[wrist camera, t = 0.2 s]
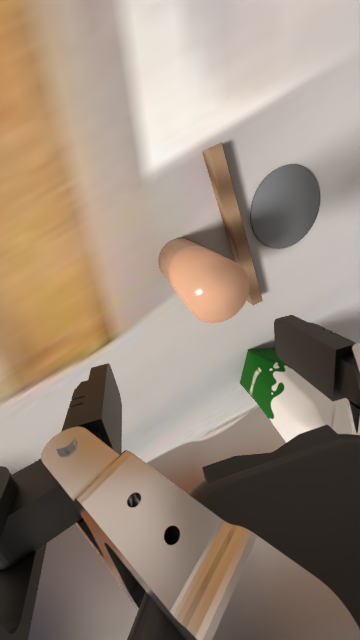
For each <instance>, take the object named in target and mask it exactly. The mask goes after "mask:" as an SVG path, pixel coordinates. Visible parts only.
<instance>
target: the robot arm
mask: <svg viewBox="0 0 360 640" xmlns="http://www.w3.org/2000/svg"><path fill="white" fill-rule="evenodd" d="M274 333H275V350H276V353H277V355H278V357H279V359H280V360H281V361H283V362H284V363H285V364H286V365H288V366H289V367H290V368H291V369H293V370H294V371H295V372H296V373H298V374H299V375H300V376H301V377H303V378H304V379H305V380H306V381H308V382H309V383H310V384H311V385H313V386H314V387H315V388H316V389H318V390H319V391H320V392H321V393H323V394H324V395H325V396H326V397H328V398H329V399H330V400H331V401H333V402H334V401H337V400H340V399H342V398H347V399H348V403H347V408H348V413H349V417H350V422H351V427H352V432H353V434H337V433H336V432H335V431H334V430H333V429H332V428H331V427H330V426H329V425H328V424H327V425H324V426H321V427H319V428H316V429H313V430H310V431H307V432H304V433H301V434H298V435H297V436H296V437H294V438H293V439H291V440H290V441H288V442H287V443H286V444H284V445H283V446H281V447H280V448H279V449H277V450H276V451H274V452H272V453H264V454H253V455H242V456H234V457H231V458H228V459H226V460H222V461H220V462H216V463H214V464H211V465H208V466H205V467H203V472H204V477H205V480H204V481H202V482H201V483H199V484H198V485H197V486H196V487H195V488H194V489H193V490H192V491H191V492H190V493H189V494H187V493H186V492H184V491H183V490H181V489H180V488H179V487H178V486H176V485H175V484H173V483H172V482H171V481H169V480H168V479H167V478H165V477H164V476H163V475H161V474H160V473H158V472H157V471H156V470H154V469H153V468H152V467H150V466H149V465H148V464H146V463H145V462H144V461H142V460H141V459H140V458H138V457H137V456H136V455H134V454H133V453H131V452H130V451H127V450H125V451H124V452H123V453H122V454H121V436H122V404H121V398H120V393H119V390H118V387H117V384H116V381H115V378H114V375H113V372H112V369H111V367H110V365H109V363H108V364H104V365H100V366H97V367H93V368H91V371H90V375H89V380H87V381H84V382H81V383H80V384H79V386H78V387H77V388H76V389H75V390H74V393H73V396H72V401H71V402H70V406H69V407H70V408H69V409H68V412H67V415H66V419H65V422H64V425H63V428H62V432H60V433H59V434H57V435H56V436H55V437H53V438H52V439H51V440H50V441H49V442H48V443H47V444H46V446H45V447H44V449H43V451H42V454H41V459H39V460H38V461H36V462H35V463H33V464H31V465H29V466H27V467H26V468H24V469H22V470H20V471H18V472H16V473H15V474H13V475H11V473H10V472H9V470H8V469H7V468H6V467H0V640H28V636H29V631H30V626H31V621H32V616H33V610H34V605H35V600H36V595H37V590H38V585H39V579H40V575H41V569H42V564H43V559H44V554H45V549H46V544H47V542H49V541H50V540H51V539H53V538H55V537H56V536H57V535H59V534H60V533H62V532H63V531H64V530H66V529H67V528H69V527H70V526H72V525H73V524H75V523H76V524H77V526H78V527H79V528H80V530H81V531H82V532H83V534H84V535H85V537H86V538H87V539H88V541H89V542H90V543H91V545H92V546H93V547H94V549H95V550H96V551H97V553H98V554H99V555H100V557H101V558H102V560H103V561H104V562H105V564H106V565H107V566H108V568H109V569H110V571H111V572H112V574H113V576H114V577H115V579H116V581H117V582H118V584H119V585H120V587H121V588H122V590H123V591H124V593H125V594H126V595H127V597H128V598H129V600H130V601H131V602H132V604H133V605H134V607H135V608H136V609H137V611H138V613H137V616H136V618H135V621H134V623H133V626H132V629H131V631H130V634H129V636H128V639H127V640H360V342H359V343H355V342H353V341H351V340H349V339H346V338H344V337H342V336H340V335H338V334H336V333H333V332H332V331H329V330H327V329H326V330H325V328H323V327H321V326H319V325H317V324H313V323H309V322H306V321H304V320H301V319H299V318H297V317H295V316H293V315H289V316H285V317H281V318H278V319H276V320H275V322H274Z"/></svg>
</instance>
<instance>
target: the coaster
mask: <svg viewBox="0 0 360 640" xmlns="http://www.w3.org/2000/svg"><path fill="white" fill-rule="evenodd" d="M319 204H320V192H319V186H318V183H317V181H316V179H315V177H314V175H313V174H312V173H311V172H310V171H309V170H308V169H306V168H305V167H302V166H299V165H287V166H283V167H280V168H278V169H276V170H274V171H273V172H271V173H270V174H269V175H268V176H267V177H266V178H265V179H264V180H263V181H262V183H261V184H260V185H259V187H258V189H257V191H256V193H255V195H254V198H253V201H252V206H251V224H252V228H253V231H254V233H255V235H256V237H257V238H258V239H259V241H261V242H262V243H263V244H265V245H266V246H269V247H272V248H278V249H280V248H286V247H289V246H292V245H294V244H295V243H297V242H298V241H300V240H301V239H302V238H303V237H304V236H305V235H306V234H307V233H308V231H309V230H310V229H311V227H312V225H313V223H314V221H315V219H316V217H317V214H318V210H319Z"/></svg>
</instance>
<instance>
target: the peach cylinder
mask: <svg viewBox="0 0 360 640" xmlns="http://www.w3.org/2000/svg"><path fill="white" fill-rule="evenodd" d="M159 268H160V270H161V272H162V274H163V275H164V276H165V278H166V279H167V280H168V282H169V283H170V284H171V286H172V287H173V288H174V290H175V291H176V292H177V293H178V295H179V296H180V297H181V299H182V300H183V301H184V303H185V304H186V305H187V307H188V308H189V309H190V311H191V312H192V313H193V314H194V315H195V316H196V317H197V318H198V319H200V320H202V321H204V322H208V323H218V322H222V321H225V320H228V319H229V318H231V317H233V316H234V315H235V314H236V313H238V312H239V310H240V309H241V308H242V307H243V305H244V304H245V302H246V300H247V297H248V293H249V279H248V275H247V273H246V271H245V270H244V268H243V267H242V266H241V265H239V264H238V263H236V262H235V261H233V260H230V259H228V258H226V257H224V256H222V255H220V254H217V253H215V252H213V251H211V250H209V249H207V248H205V247H202V246H200V245H198V244H196V243H194V242H192V241H189V240H187V239H182V238H179V239H174V240H171V241H170V242H168V243H167V244H166V245H165V246H164V247H163V248H162V250H161V252H160V255H159Z"/></svg>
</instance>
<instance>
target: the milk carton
mask: <svg viewBox="0 0 360 640" xmlns="http://www.w3.org/2000/svg"><path fill="white" fill-rule="evenodd" d="M240 384H241V385H242V386H243V387H244V388H245V390H246V391H247V392H248V393H249V394H250V395H251V397H252V398H253V399H254V400H255V401H256V402H257V404H258V405H259V406H260V408H261V409H262V410H263V412H264V413H265V414H266V416H267V417H268V418H269V420H270V421H271V422H272V424H273V425H274V426H275V428H276V429H277V431H278V432H279V433H280V435H281V436H282V437H283V439H284V440H285V441H286V443H287V442H288V441H290V440H291V439H293V438H294V437H296V436H297V435H298V434H301V433H304V432H307V431H310V430H313V429H316V428H319V427H321V426H324V425H327V424H328V425H329V426H330V427H331V428H332V429H333V430H334V431H335V432H336V433H337V434H353V432H352V427H351V422H350V417H349V413H348V408H347V403H345V402H344V401H343V400H342V399H340V400H337V401H334V402H333V401H331V400H330V399H329V398H328V397H326V396H325V395H324V394H323V393H321V392H320V391H319V390H318V389H316V388H315V387H314V386H313V385H311V384H310V383H309V382H308V381H306V380H305V379H304V378H303V377H301V376H300V375H299V374H298V373H296V372H295V371H294V370H293V369H291V368H290V367H289V366H288V365H286V364H285V363H284V362H283V361H281V360H280V359H279V357H278V355H277V353H276V350H275V349H256V350H248V352H247V356H246V361H245V365H244V369H243V373H242V377H241V381H240Z"/></svg>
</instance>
